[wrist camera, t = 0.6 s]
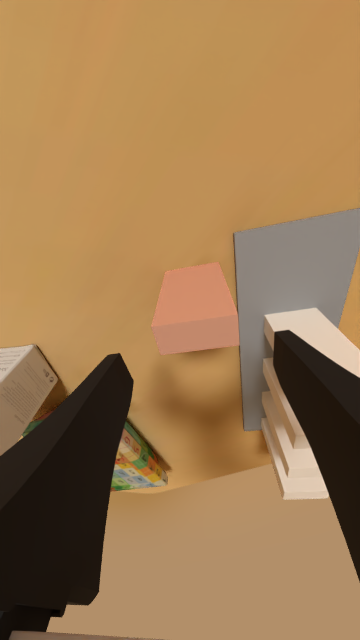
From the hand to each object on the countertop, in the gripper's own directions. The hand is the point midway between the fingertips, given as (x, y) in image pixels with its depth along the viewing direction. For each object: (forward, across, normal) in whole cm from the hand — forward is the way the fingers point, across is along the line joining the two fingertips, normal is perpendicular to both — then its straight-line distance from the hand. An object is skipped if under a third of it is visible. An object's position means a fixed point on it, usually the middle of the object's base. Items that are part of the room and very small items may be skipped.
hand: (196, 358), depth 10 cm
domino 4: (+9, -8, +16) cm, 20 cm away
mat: (+9, -8, +10) cm, 16 cm away
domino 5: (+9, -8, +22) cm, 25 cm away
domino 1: (+10, 0, 0) cm, 10 cm away
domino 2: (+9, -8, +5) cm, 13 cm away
